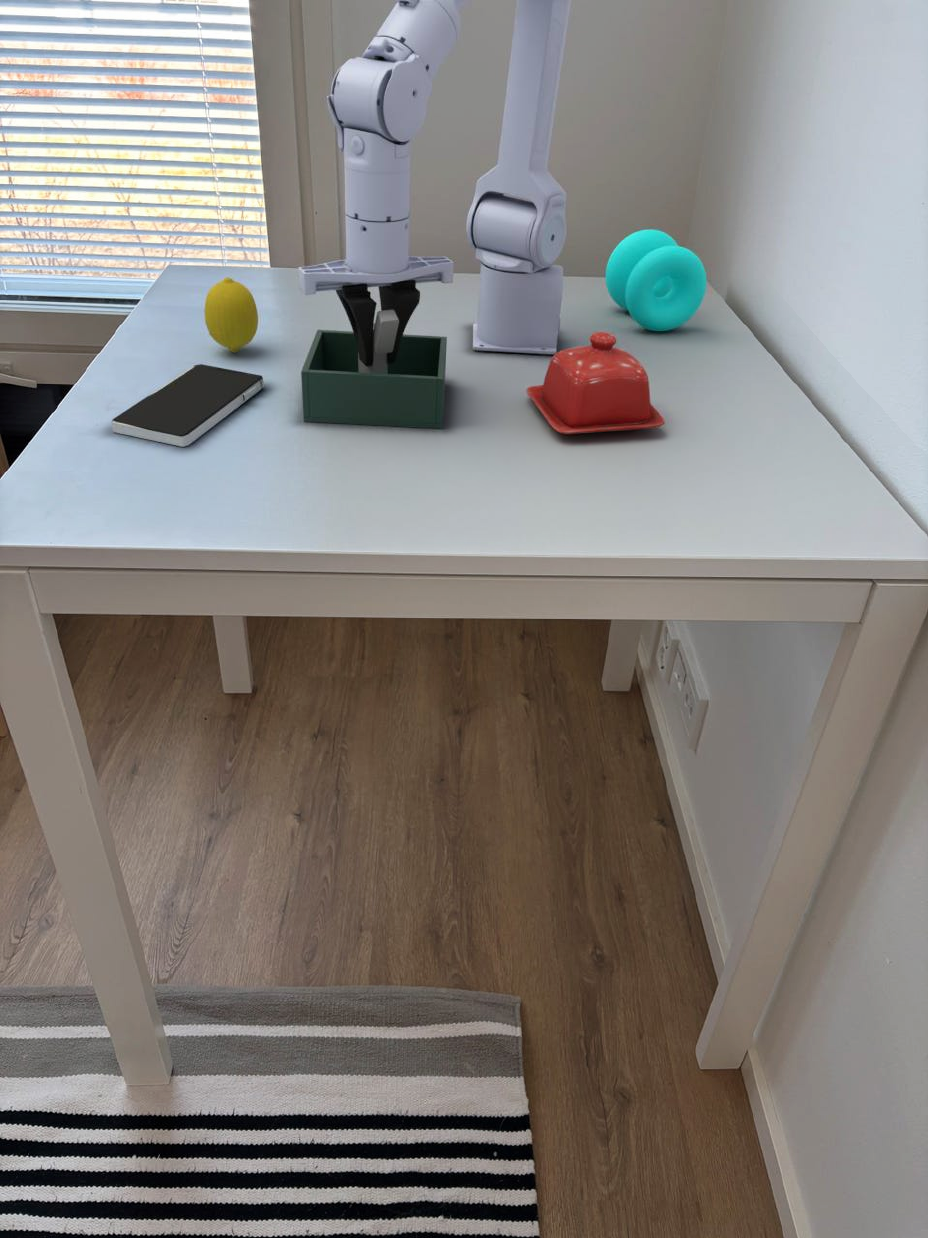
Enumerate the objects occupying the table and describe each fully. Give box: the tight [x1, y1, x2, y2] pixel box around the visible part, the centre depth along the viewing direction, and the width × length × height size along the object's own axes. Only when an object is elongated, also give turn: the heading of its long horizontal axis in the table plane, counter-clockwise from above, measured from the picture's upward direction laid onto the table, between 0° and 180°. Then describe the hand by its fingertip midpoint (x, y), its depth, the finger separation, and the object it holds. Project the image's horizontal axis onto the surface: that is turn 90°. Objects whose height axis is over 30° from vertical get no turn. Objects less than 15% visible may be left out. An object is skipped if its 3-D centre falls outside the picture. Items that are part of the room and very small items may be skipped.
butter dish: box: [525, 331, 666, 435], centre depth 93 cm, size 12×12×8 cm
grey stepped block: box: [358, 310, 399, 374], centre depth 92 cm, size 7×2×8 cm, turn 24°
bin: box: [300, 329, 448, 430], centre depth 94 cm, size 13×11×5 cm
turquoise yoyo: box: [605, 229, 707, 332], centre depth 117 cm, size 10×10×10 cm
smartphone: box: [111, 363, 265, 447], centre depth 92 cm, size 8×1×15 cm
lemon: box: [203, 277, 259, 353], centre depth 102 cm, size 6×6×8 cm
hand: (377, 360), depth 93 cm, fingers closed on grey stepped block, 2 cm apart
